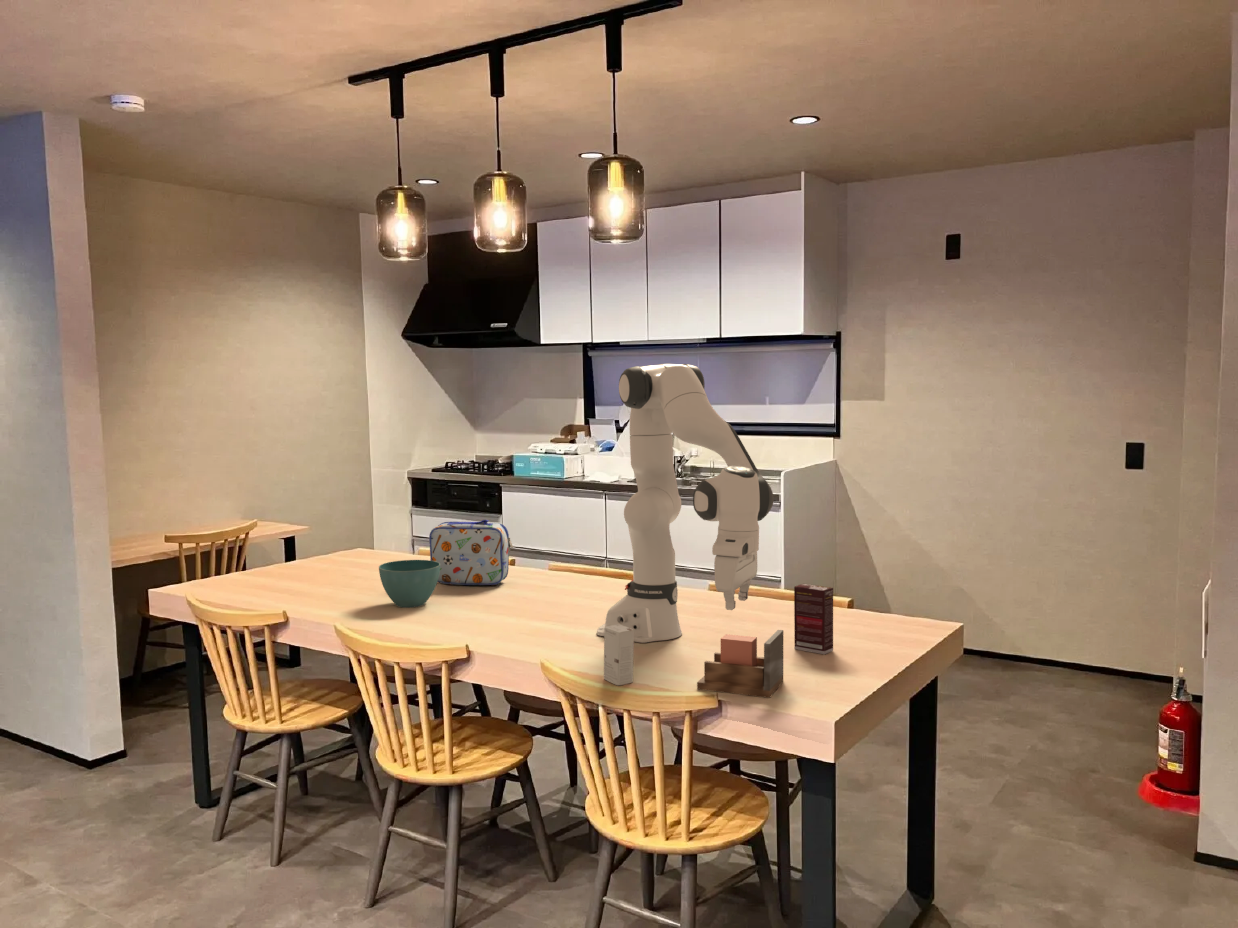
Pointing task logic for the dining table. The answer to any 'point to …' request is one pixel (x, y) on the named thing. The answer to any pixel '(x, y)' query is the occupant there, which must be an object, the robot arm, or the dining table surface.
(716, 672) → the book rack
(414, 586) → the green bowl
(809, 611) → the supplement box
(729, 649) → the red book
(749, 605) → the dining table surface
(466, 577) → the lunch box
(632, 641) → the skincare box
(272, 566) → the dining table surface
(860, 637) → the dining table surface
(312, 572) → the dining table surface
